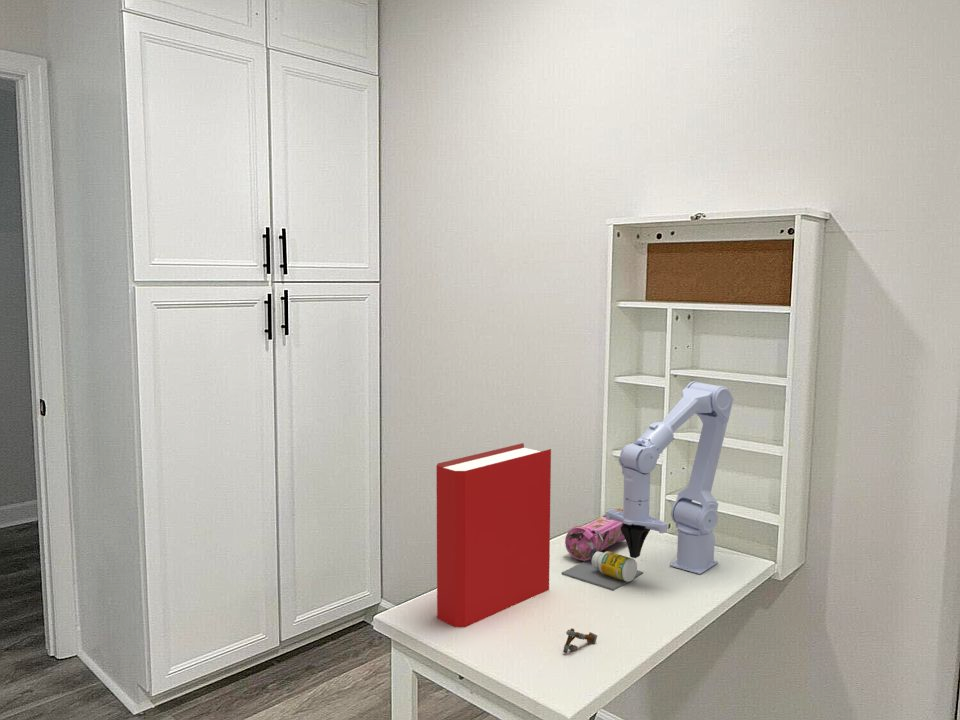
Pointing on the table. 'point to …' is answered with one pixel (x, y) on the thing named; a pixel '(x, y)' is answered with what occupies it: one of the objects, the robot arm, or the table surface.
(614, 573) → the supplement bottle
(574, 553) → the pencil case
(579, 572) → the slate mat
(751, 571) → the table surface
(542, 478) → the book
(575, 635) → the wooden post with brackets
